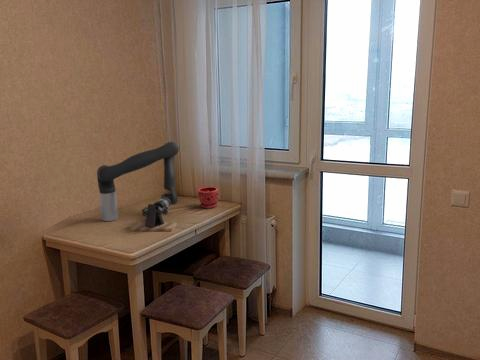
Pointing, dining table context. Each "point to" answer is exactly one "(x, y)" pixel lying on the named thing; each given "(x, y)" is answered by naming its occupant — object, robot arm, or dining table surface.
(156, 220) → the phone stand
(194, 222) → the dining table surface
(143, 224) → the oak board
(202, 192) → the plant pot
